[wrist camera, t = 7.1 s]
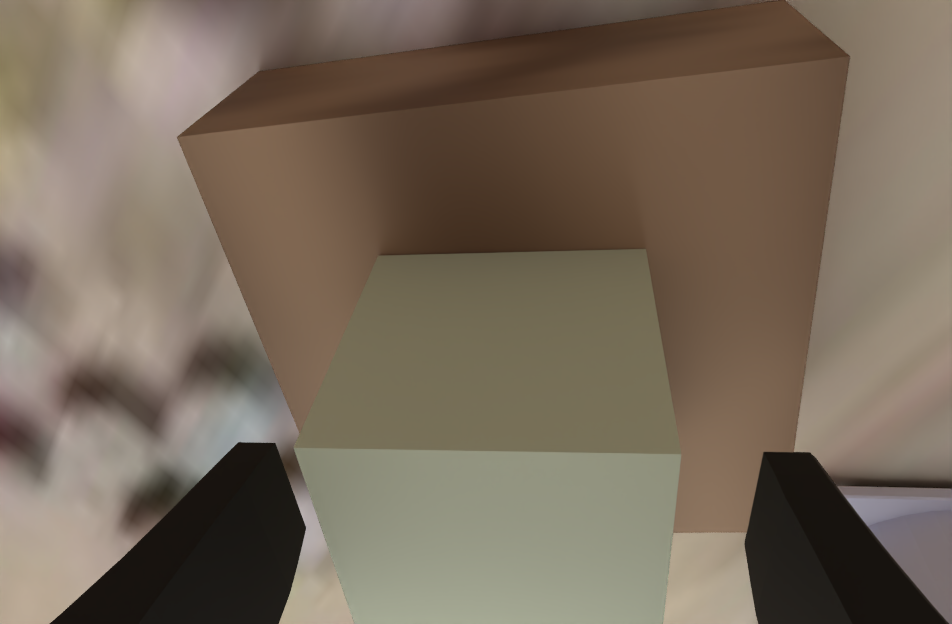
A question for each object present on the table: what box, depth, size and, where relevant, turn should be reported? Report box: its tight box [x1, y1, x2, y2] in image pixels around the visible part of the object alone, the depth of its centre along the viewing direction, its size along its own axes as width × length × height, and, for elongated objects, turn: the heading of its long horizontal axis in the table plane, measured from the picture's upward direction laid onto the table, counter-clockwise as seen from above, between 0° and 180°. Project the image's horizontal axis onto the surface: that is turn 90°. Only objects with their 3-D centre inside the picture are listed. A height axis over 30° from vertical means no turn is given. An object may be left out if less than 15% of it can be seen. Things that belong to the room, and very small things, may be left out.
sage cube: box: [294, 249, 681, 624], centre depth 11 cm, size 4×4×4 cm
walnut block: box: [177, 0, 850, 533], centre depth 15 cm, size 10×10×4 cm
